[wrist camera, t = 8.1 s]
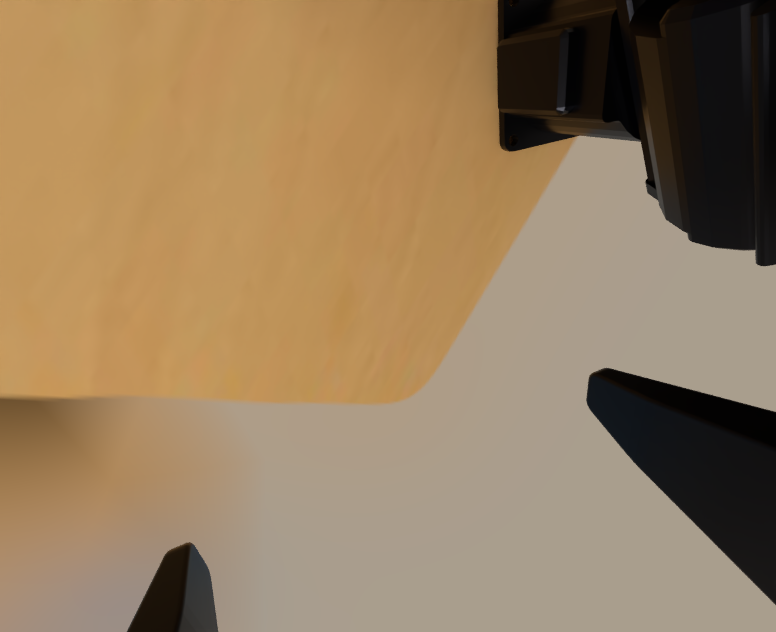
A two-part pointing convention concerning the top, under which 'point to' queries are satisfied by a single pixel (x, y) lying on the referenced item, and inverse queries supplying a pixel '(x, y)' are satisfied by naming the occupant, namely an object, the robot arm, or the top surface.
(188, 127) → the top surface
